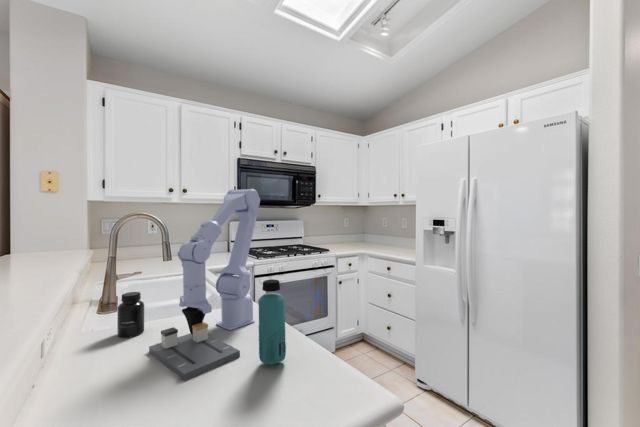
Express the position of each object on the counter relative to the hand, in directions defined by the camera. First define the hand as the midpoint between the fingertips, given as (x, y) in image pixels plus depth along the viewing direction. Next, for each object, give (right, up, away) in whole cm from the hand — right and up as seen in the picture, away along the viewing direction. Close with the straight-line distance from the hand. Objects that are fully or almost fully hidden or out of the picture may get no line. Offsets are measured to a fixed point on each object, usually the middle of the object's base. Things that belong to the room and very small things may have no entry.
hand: (195, 333), depth 83 cm
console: (+2, -3, -7) cm, 8 cm away
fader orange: (+2, -1, -2) cm, 3 cm away
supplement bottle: (-22, -3, +7) cm, 23 cm away
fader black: (-5, -1, -5) cm, 7 cm away
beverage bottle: (+23, -3, -12) cm, 26 cm away
